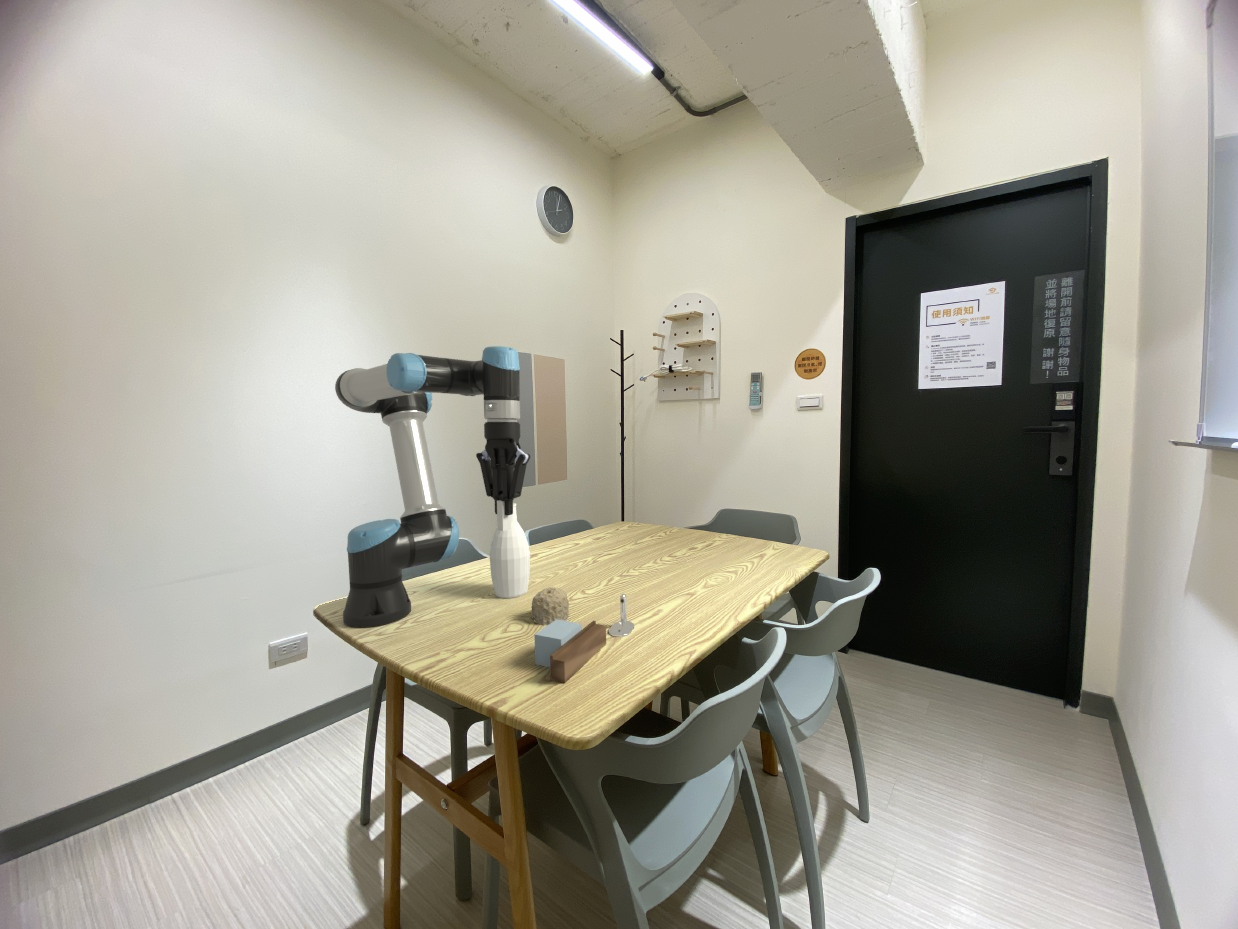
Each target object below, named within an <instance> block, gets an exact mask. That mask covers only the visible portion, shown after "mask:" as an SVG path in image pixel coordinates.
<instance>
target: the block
mask: <svg viewBox="0 0 1238 929" xmlns="http://www.w3.org/2000/svg"><path fill="white" fill-rule="evenodd" d="M582 629H583V625H582V623H581V622H574V621H568V620H565V621H563V620H557V619H556V620H555V621H553V622H552V623H550V624H549V625H545V627H543V628H542V629H540V630H539V631H538V632H536V633H535V634H534V660H535V661H534V662H535V665H537V666H543V667H547V668H550V655H551V654H552V653H554V652H555V651H556V650H557V649H559V648H560V647H561V646H562V645H563V644H565V643H566V642H567V641H568V640H570V639H571V638H572V637H573V636H575V635H576V634H577V633H578V632H580V631H581V630H582Z"/></svg>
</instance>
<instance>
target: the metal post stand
mask: <svg viewBox="0 0 1238 929" xmlns="http://www.w3.org/2000/svg"><path fill="white" fill-rule="evenodd" d="M619 602H620V605H619V606H620V620H619V621H616V622H613V624H612V625H611V627H610V628H609V629H608V634H609V635H610V636H611V637H614V638H624V637H627V636H629V635H631V634H632V632H633V631H634V629H635V624H634V622H632V621H628V618H627V616H628V614H627V613H628V611H627V610H628V608H627V595H626V594H625V593H621V595H620V599H619Z"/></svg>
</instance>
